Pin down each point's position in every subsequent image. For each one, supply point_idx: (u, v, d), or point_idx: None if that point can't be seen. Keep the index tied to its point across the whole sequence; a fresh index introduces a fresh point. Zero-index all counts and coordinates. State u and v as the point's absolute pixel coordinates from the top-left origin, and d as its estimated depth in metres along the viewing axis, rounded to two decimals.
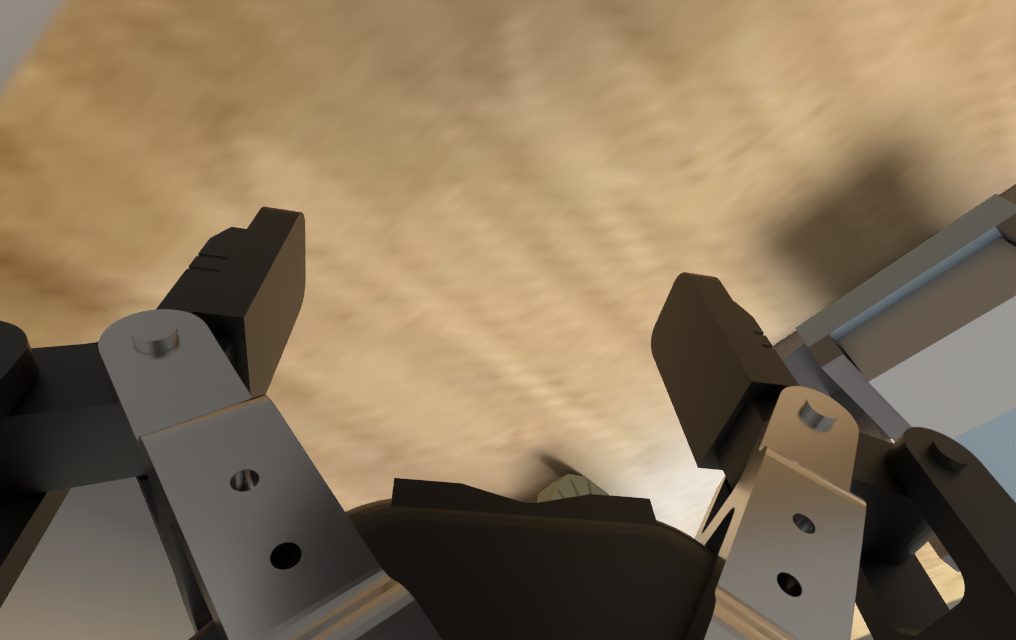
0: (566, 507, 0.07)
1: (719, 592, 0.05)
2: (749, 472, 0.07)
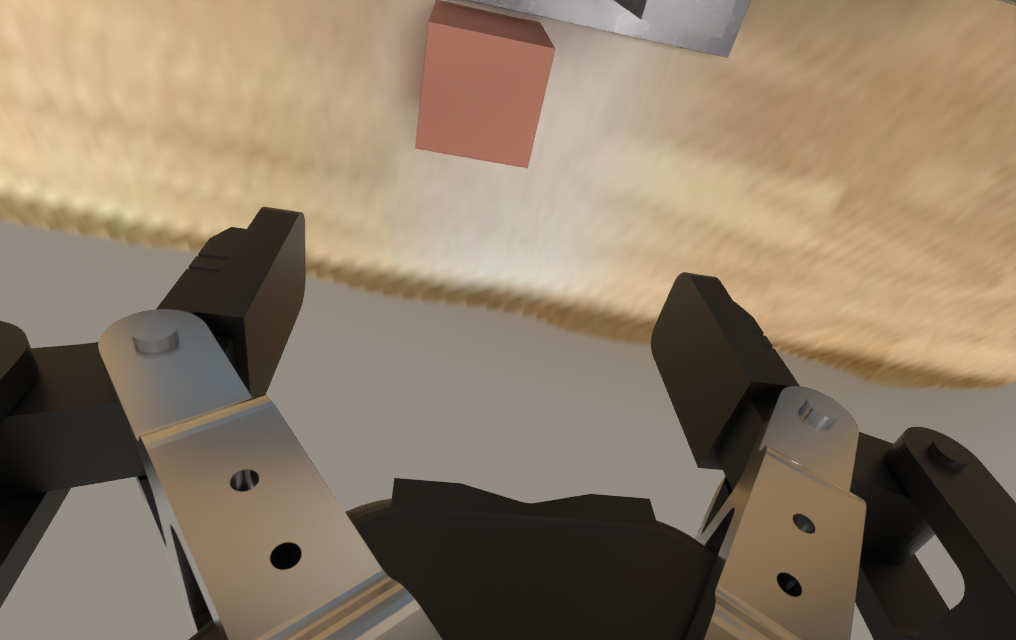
0: (565, 507, 0.07)
1: (719, 592, 0.05)
2: (749, 472, 0.07)
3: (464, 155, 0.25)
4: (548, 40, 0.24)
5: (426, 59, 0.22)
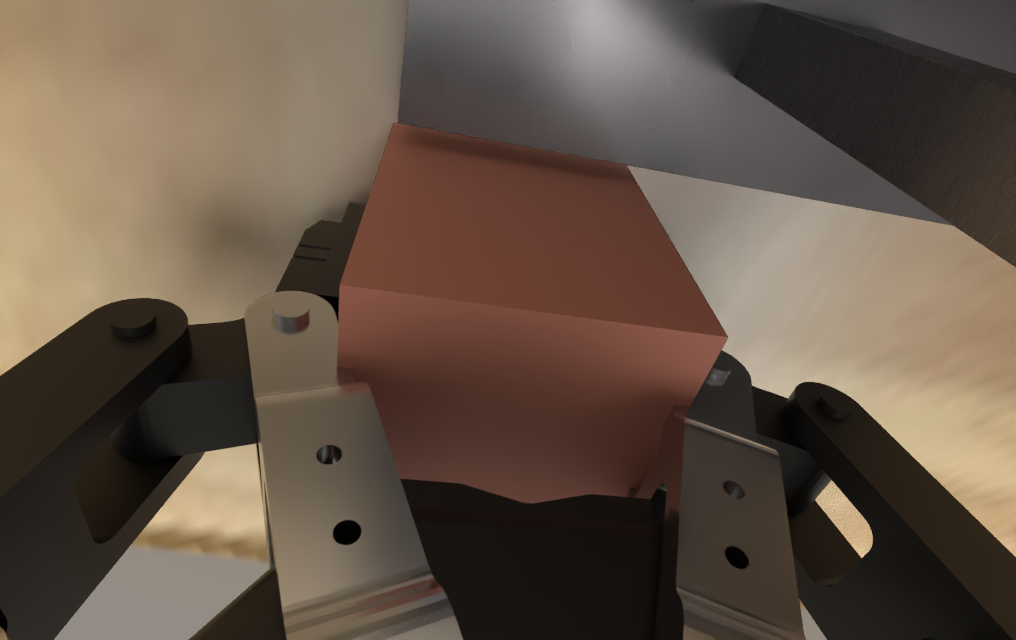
0: (565, 508, 0.07)
1: (719, 592, 0.05)
2: (670, 444, 0.08)
3: None
4: (685, 273, 0.09)
5: None
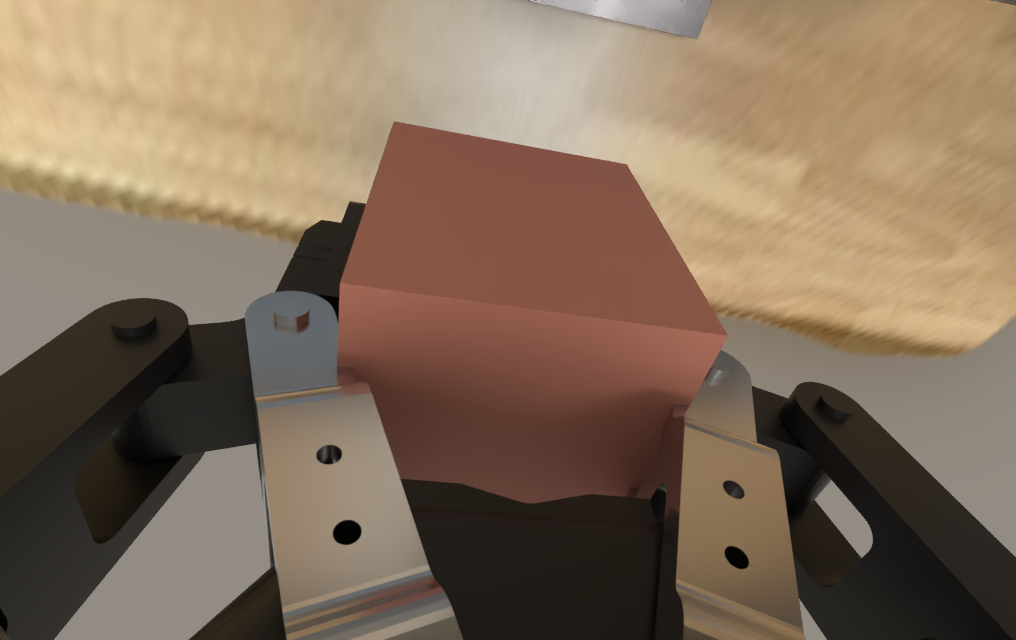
0: (565, 507, 0.07)
1: (719, 592, 0.05)
2: (670, 444, 0.08)
3: None
4: (685, 272, 0.09)
5: None
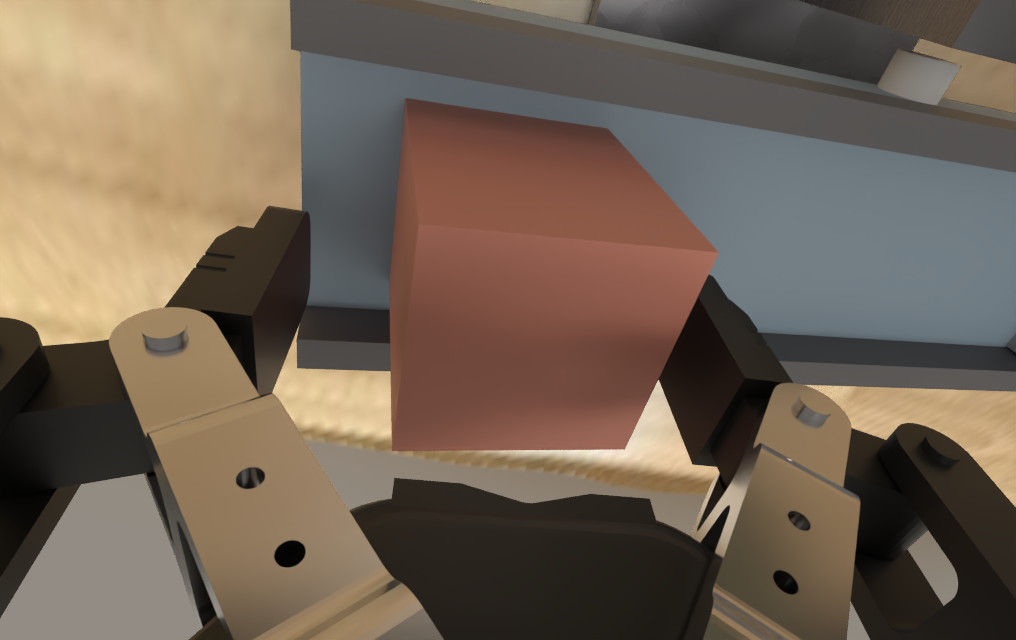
0: (565, 507, 0.07)
1: (719, 592, 0.05)
2: (744, 470, 0.07)
3: (498, 447, 0.12)
4: (676, 209, 0.11)
5: (413, 300, 0.09)
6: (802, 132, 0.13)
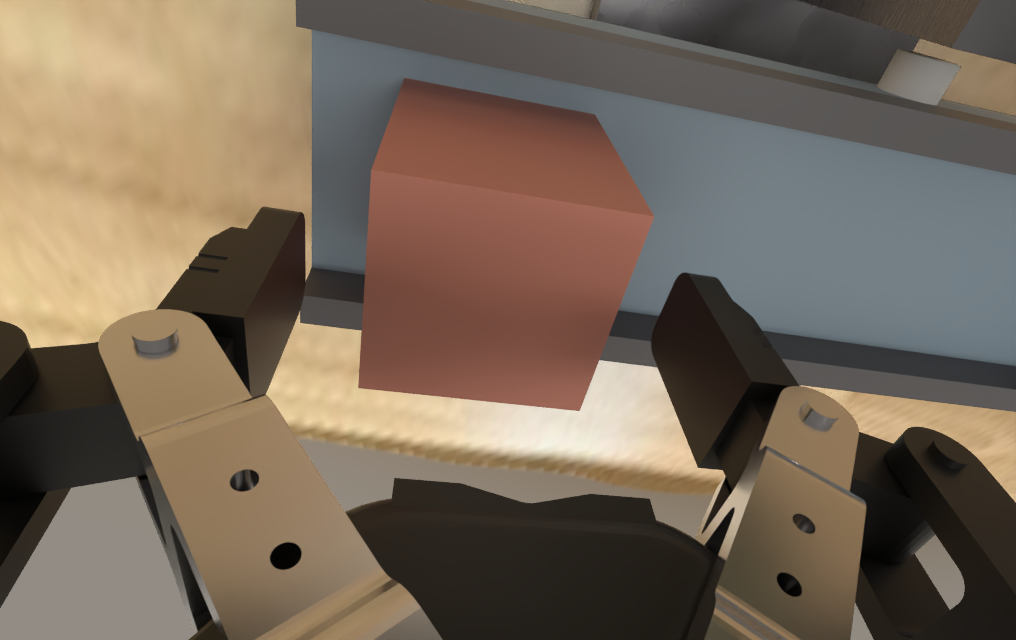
0: (565, 508, 0.07)
1: (719, 592, 0.05)
2: (749, 472, 0.07)
3: (456, 395, 0.13)
4: (629, 180, 0.11)
5: (370, 241, 0.10)
6: (780, 122, 0.14)
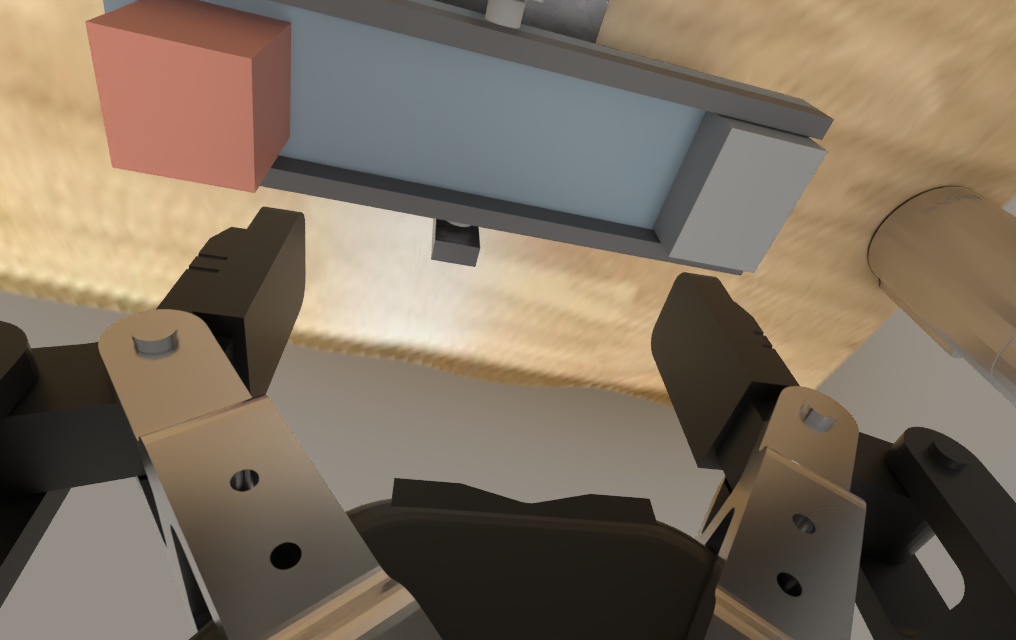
0: (565, 507, 0.07)
1: (719, 592, 0.05)
2: (749, 472, 0.07)
3: (174, 176, 0.21)
4: (261, 47, 0.20)
5: (95, 65, 0.19)
6: (391, 28, 0.23)
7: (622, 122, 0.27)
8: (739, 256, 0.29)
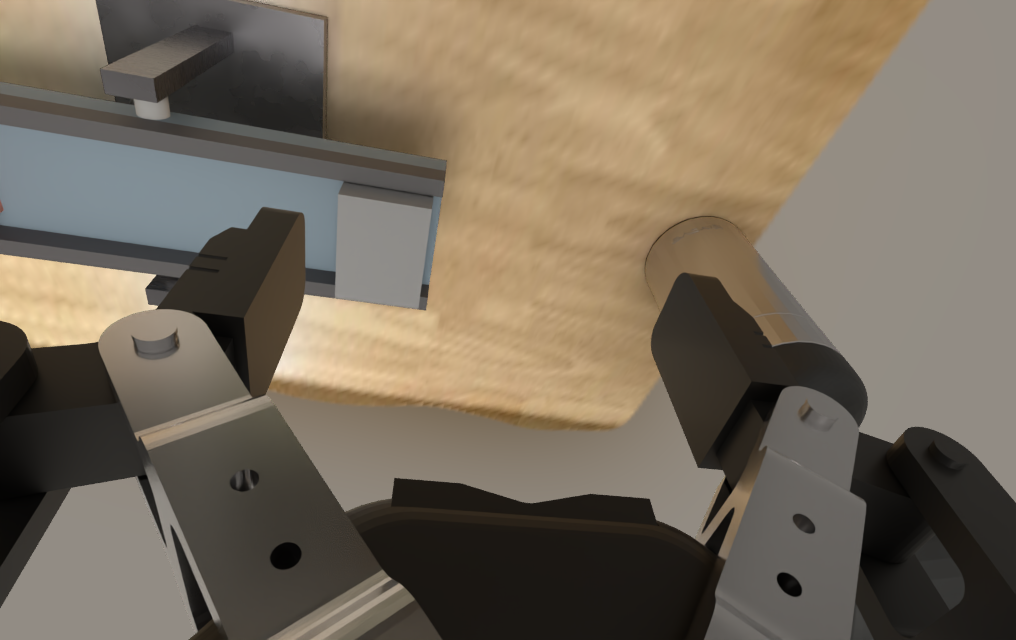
0: (565, 508, 0.07)
1: (719, 592, 0.05)
2: (749, 472, 0.07)
3: None
4: None
5: None
6: (38, 129, 0.29)
7: (279, 188, 0.33)
8: (397, 295, 0.34)
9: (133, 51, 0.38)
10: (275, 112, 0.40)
